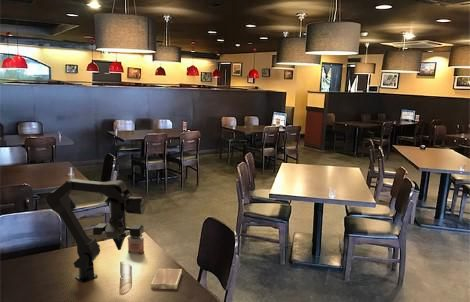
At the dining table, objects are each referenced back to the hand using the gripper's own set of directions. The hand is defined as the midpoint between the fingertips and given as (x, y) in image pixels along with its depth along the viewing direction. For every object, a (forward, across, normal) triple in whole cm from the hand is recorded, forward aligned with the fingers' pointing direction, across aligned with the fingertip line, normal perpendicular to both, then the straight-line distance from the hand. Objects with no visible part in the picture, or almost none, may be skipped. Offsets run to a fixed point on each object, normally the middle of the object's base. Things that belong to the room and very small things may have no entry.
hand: (119, 249), depth 148 cm
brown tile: (+12, +14, 0) cm, 19 cm away
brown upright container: (+13, -1, +24) cm, 28 cm away
